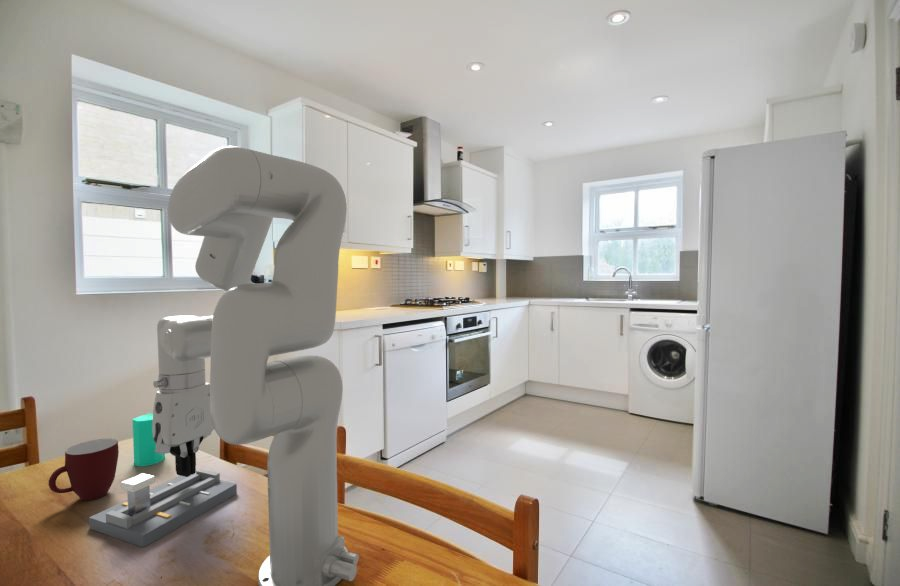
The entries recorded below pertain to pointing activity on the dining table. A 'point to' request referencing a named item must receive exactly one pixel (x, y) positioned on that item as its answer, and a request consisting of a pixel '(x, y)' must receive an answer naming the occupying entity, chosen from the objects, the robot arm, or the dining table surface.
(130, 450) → the dining table surface
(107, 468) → the mug
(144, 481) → the fader tab
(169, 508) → the console
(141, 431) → the candle
